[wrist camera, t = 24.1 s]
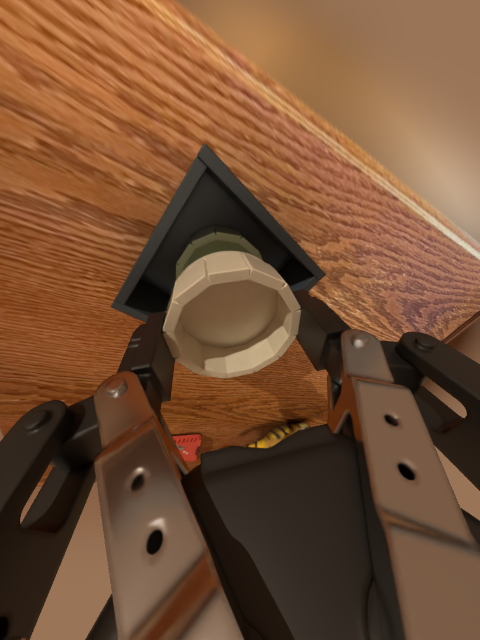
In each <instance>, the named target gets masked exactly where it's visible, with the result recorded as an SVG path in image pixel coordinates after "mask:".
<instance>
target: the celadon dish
mask: <svg viewBox="0 0 480 640" xmlns="http://www.w3.org/2000/svg"><path fill="white" fill-rule="evenodd" d="M221 251H240V252H245V253H249V254H251V255H254V256H256V257H258V258H260V259H262V256H261V253H260V252H259V250H258V249H257V248H256V247H255V246H254V245H253V244H252V243H251V242H250V241H249V240H248V239H247V238H246V237H245V236H244V235H243V234H241V233H240V232H239V231H237V230H236V229H232V228H230V227H226V226H210V227H206V228H203V229H201V230H199V231H197V232H195V233H194V234H192V235H191V236H190V237H189V238H188V239H187V241H186V242H185V243H184V245H183V247H182V249H181V251H180V252H179V255H178V259H177V263H176V281H177V279H178V277H179V276H180V275H181V273H182V272H183V271H184V270H185V269H186V268H187V267H188V266H189V265H190V264H192V263H193V262H195V261H196V260H198V259H200V258H202V257H204V256H206V255H209V254H212V253H216V252H221Z"/></svg>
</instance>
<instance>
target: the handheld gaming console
mask: <svg viewBox="0 0 480 640" xmlns="http://www.w3.org/2000/svg"><path fill="white" fill-rule="evenodd" d="M172 437H173V439H174V441H175V443H176V445H177V447H178V449H179V451H180V453H181V455H182V457H183V459H184V460H185V462H186V461H188V462H190V460H191V461H196V458H197V455H198V451H199V448H200V444H201V441H202V438H201V435H199V434H197V435H184V436H172Z"/></svg>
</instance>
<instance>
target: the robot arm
mask: <svg viewBox="0 0 480 640" xmlns="http://www.w3.org/2000/svg"><path fill="white" fill-rule="evenodd" d="M292 293H293V294H294V296H295V298H296V300H297V301H298V303H299V305H300V307H301V308H300V309H301V315H300V322H299V328H298V335H296V339H297V340H298V342H299V343H300V345H301V347H302V348H303V350H304V351H305V353H306V355H307V356H308V358H309V359H310V361H311V363H312V364H313V366H314V367H315V369H316V371H319V370H324V369H326V370H327V372H328V375H327V396H328V422H327V424H324V425H320V426H315V427H311V428H307V429H303V430H299V431H297V432H295V433H293V434H292V435H290V436H288V437H287V438H285V439H283V440H282V441H280V442H278V443H277V444H275V445H273V446H272V447H269V448H258V447H241V446H231V447H227V448H223V449H219V450H215V451H210V452H206V453H202V454H201V464H200V465H198V466H196V467H195V468H194V469H192V470H191V471H190V470H189V468H188V466H187V464H186V462H185V460H184V459H183V457H182V455H181V453H180V451H179V449H178V447H177V445H176V443H175V441H174V439H173V437H172V435H171V433H170V430H169V428H168V426H167V424H166V422H165V420H164V418H163V416H162V414H161V412H160V409H161V403H162V402H166V401H170V398H171V389H172V380H173V372H174V363H175V359H174V358H173V357H172V354H171V352H170V350H169V347H168V345H167V343H166V340H165V338H164V335H163V330H162V329H163V325H164V320H165V316H166V311H161V312H155V313H150V314H149V316H148V319H147V322H146V324H143V325H140V326H139V327H138V328H137V329H136V330H135V331H134V332H133V334H132V337H131V339H130V342H129V344H128V348H127V349H126V352H125V354H124V357H123V359H122V361H121V364H120V366H119V369H118V371H117V373H116V374H114V375H112V376H110V377H109V378H107V379H106V380H105V381H103V382H102V383H101V384H100V385H99V387H98V388H97V390H96V391H95V394H94V395H93V396H91V397H89V398H87V399H84V400H82V401H80V402H78V403H75V404H73V405H71V406H69V407H68V406H67V405H66V404H65V403H64V402H62V401H60V400H52V401H48V402H45V403H43V404H40V405H38V406H36V407H35V408H33V409H32V410H30V411H29V412H27V413H26V414H25V415H24V416H22V417H21V418H20V419H19V420H18V421H17V422H16V423H15V425H14V426H13V427H12V428H11V429H10V431H9V432H8V433H7V434H6V435H5V437H4V438H3V439H2V440H1V442H0V640H30V637H31V635H32V632H33V630H34V627H35V625H36V623H37V620H38V618H39V615H40V613H41V610H42V608H43V606H44V603H45V601H46V598H47V596H48V593H49V591H50V589H51V586H52V584H53V581H54V579H55V576H56V574H57V571H58V569H59V566H60V564H61V562H62V559H63V557H64V554H65V552H66V549H67V547H68V544H69V542H70V540H71V537H72V535H73V532H74V530H75V528H76V525H77V523H78V520H79V518H80V515H81V513H82V510H83V508H84V506H85V503H86V501H87V498H88V496H89V493H90V491H91V488H92V486H93V484H94V481H95V479H96V481H97V488H98V495H99V502H100V509H101V517H102V524H103V531H104V538H105V545H106V553H107V560H108V567H109V574H110V581H111V589H112V594H111V596H110V597H109V599H108V601H107V603H106V604H105V606H104V608H103V610H102V611H101V613H100V615H99V617H98V618H97V620H96V622H95V624H94V625H93V627H92V629H91V631H90V632H89V634H88V636H87V638H86V639H85V640H480V521H479V520H478V519H476V518H475V517H473V516H472V515H471V514H469V513H468V512H466V511H465V510H463V509H462V508H460V506H459V504H458V501H457V499H456V497H455V494H454V492H453V490H452V487H451V485H450V482H449V480H448V478H447V475H446V473H445V470H444V468H443V466H442V463H441V461H440V459H439V456H438V454H437V451H436V449H435V447H434V445H435V446H436V447H437V448H438V449H439V450H440V451H441V452H442V453H443V454H444V455H445V456H446V457H447V458H448V459H449V460H450V461H451V462H452V463H453V464H454V465H455V466H456V467H457V468H458V469H459V470H460V471H461V472H462V473H463V474H464V476H465V477H467V478H468V480H469V481H471V482H472V484H473V485H474V486H475V487H476V488H477V489H478V490H479V491H480V364H478V363H477V362H475V361H473V360H472V359H470V358H468V357H467V356H465V355H463V354H461V353H460V352H458V351H457V350H455V349H453V348H451V347H450V346H448V345H447V344H445V343H443V342H442V341H440V340H438V339H436V338H434V337H432V336H430V335H427V334H424V333H419V332H407V333H404V334H403V335H402V337H401V338H400V340H399V342H393V341H379V340H378V339H377V338H376V337H375V336H374V335H372V334H370V333H368V332H366V331H363V330H358V329H351V328H350V327H349V326H348V325H347V324H346V323H345V322H344V321H343V320H342V319H341V318H340V317H339V316H338V315H337V314H336V313H334V311H333V310H332V309H331V308H329V306H328V305H326V304H325V303H324V302H323V301H322V300H320V299H318V298H316V297H311V296H310V295H309V294H308V293H307V292H306V291H305V290H304V289H302V290H296V291H292ZM428 378H430V379H431V380H432V381H433V382H435V383H436V384H437V385H439V386H440V387H442V388H443V389H444V390H445V391H446V392H448V393H449V394H451V395H452V396H453V397H454V398H456V399H457V400H458V401H459V402H461V403H462V404H463V406H464V407H465V409H466V411H467V416H466V417H465V418H462V417H461V416H459V415H458V414H456V413H455V412H454V411H453V410H451V409H450V408H449V407H448V406H447V405H445V404H444V403H443V402H442V401H440V400H439V399H438V398H437V397H436V396H434V395H433V394H432V393H431V392H429V391H428V390H427V389H426V388H425V387H423V386H422V385H423V384H424V383H425V382H426V380H427V379H428ZM49 464H50V465H52V466H54V467H53V469H52V470H51V472H50V474H49V476H48V477H47V479H46V481H45V483H44V484H43V486H42V488H41V490H40V491H39V493H38V495H37V497H36V499H35V500H34V502H33V504H32V505H31V507H30V509H29V511H28V512H27V514H26V516H25V518H24V519H23V521H22V523H21V524H20V517H21V513H22V510H23V508H24V506H25V504H26V502H27V501H28V499H29V497H30V495H31V494H32V492H33V491H34V489H35V487H36V486H37V484H38V482H39V481H40V479H41V477H42V476H43V474H44V472H45V471H46V469H47V467H48V465H49Z"/></svg>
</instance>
